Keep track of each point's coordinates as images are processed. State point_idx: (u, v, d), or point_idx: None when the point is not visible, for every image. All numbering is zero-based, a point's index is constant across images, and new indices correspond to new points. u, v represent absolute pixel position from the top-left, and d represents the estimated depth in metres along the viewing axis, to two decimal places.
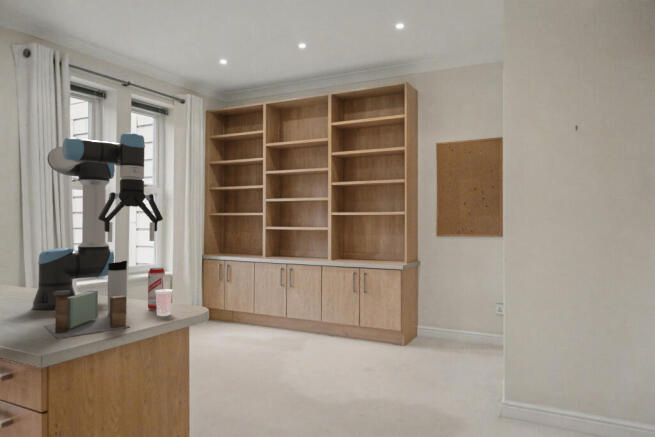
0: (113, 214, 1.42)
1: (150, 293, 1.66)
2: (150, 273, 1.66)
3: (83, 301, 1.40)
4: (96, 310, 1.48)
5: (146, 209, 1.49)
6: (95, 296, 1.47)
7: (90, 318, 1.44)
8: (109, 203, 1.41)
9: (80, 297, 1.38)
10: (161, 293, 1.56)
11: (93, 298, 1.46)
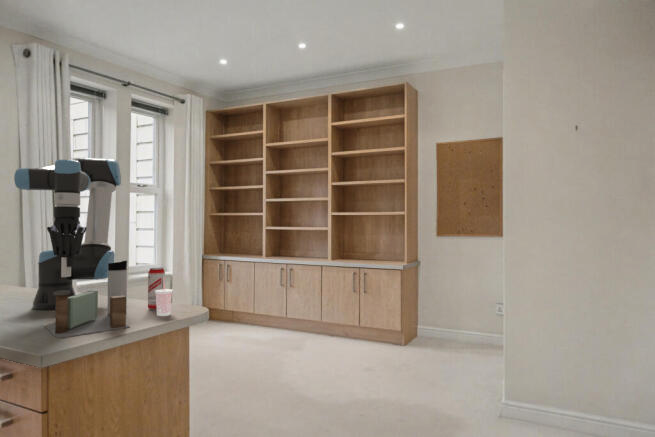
0: (60, 247, 1.43)
1: (150, 293, 1.66)
2: (150, 273, 1.66)
3: (83, 301, 1.40)
4: (96, 310, 1.48)
5: (67, 240, 1.43)
6: (95, 296, 1.47)
7: (90, 318, 1.44)
8: (51, 238, 1.43)
9: (80, 297, 1.38)
10: (161, 293, 1.56)
11: (93, 298, 1.46)
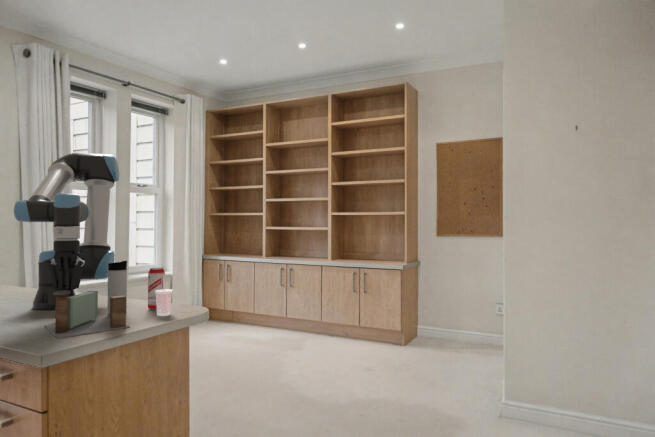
0: (60, 281, 1.43)
1: (150, 293, 1.66)
2: (150, 273, 1.66)
3: (83, 301, 1.40)
4: (96, 310, 1.48)
5: (67, 274, 1.43)
6: (95, 296, 1.47)
7: (90, 318, 1.44)
8: (51, 271, 1.43)
9: (80, 297, 1.38)
10: (161, 293, 1.56)
11: (93, 298, 1.46)
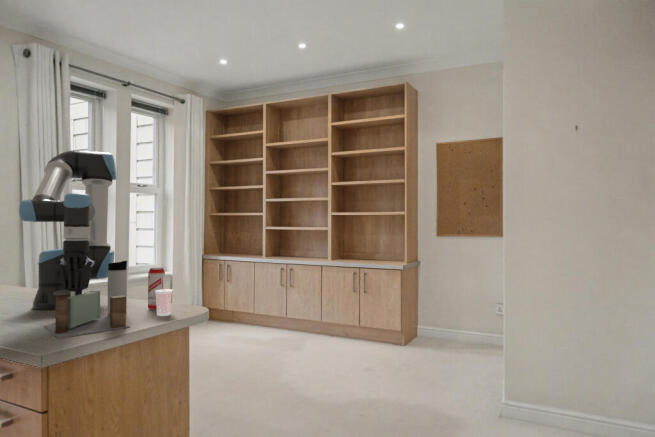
0: (69, 281, 1.42)
1: (150, 293, 1.66)
2: (150, 273, 1.66)
3: (85, 301, 1.40)
4: (99, 310, 1.48)
5: (76, 274, 1.42)
6: (97, 296, 1.47)
7: (92, 318, 1.44)
8: (60, 271, 1.43)
9: (81, 297, 1.38)
10: (161, 293, 1.56)
11: (95, 298, 1.45)
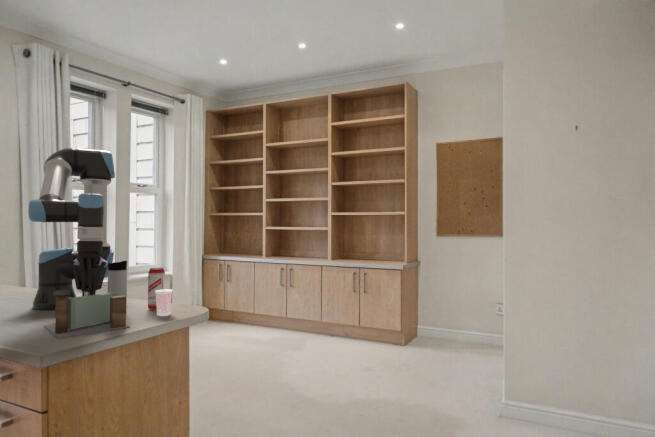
0: (83, 282, 1.42)
1: (150, 293, 1.66)
2: (150, 273, 1.66)
3: (93, 302, 1.38)
4: None
5: (90, 274, 1.41)
6: None
7: (104, 320, 1.41)
8: (74, 272, 1.42)
9: (87, 298, 1.37)
10: (161, 293, 1.56)
11: (109, 300, 1.43)
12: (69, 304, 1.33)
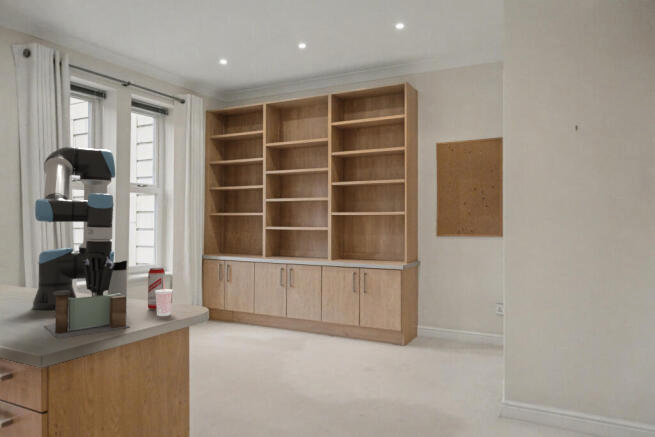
0: (92, 282, 1.41)
1: (150, 293, 1.66)
2: (150, 273, 1.66)
3: (95, 304, 1.36)
4: None
5: (97, 275, 1.40)
6: None
7: (108, 322, 1.39)
8: (85, 272, 1.42)
9: (88, 299, 1.35)
10: (161, 293, 1.56)
11: None
12: (69, 304, 1.32)
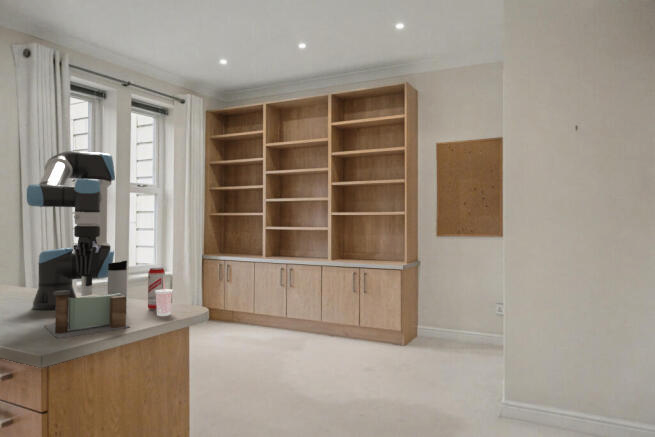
0: (81, 266, 1.44)
1: (150, 293, 1.66)
2: (150, 273, 1.66)
3: (95, 304, 1.36)
4: None
5: (85, 259, 1.43)
6: None
7: (108, 322, 1.39)
8: (76, 256, 1.46)
9: (88, 299, 1.35)
10: (161, 293, 1.56)
11: None
12: (69, 304, 1.32)
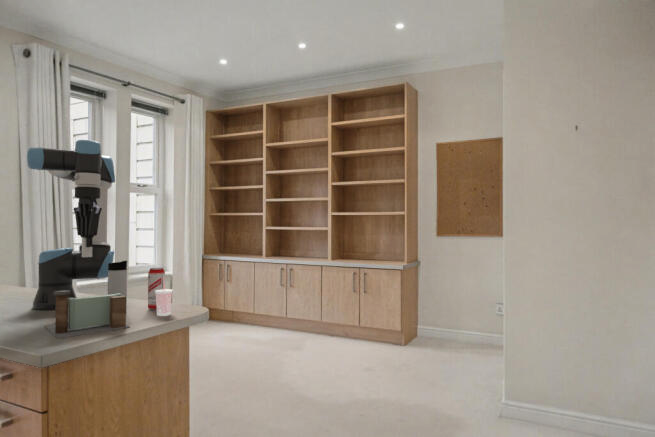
0: (81, 228, 1.44)
1: (150, 293, 1.66)
2: (150, 273, 1.66)
3: (95, 304, 1.36)
4: None
5: (85, 220, 1.43)
6: None
7: (108, 322, 1.39)
8: (76, 218, 1.46)
9: (88, 299, 1.35)
10: (161, 293, 1.56)
11: None
12: (69, 304, 1.32)
